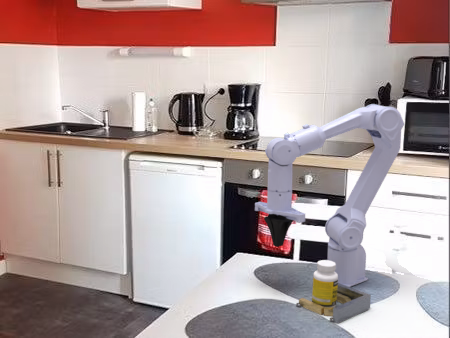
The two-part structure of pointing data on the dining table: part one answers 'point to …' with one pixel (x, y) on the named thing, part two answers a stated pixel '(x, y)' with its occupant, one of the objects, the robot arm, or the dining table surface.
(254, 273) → the dining table surface
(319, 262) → the supplement bottle
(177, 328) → the dining table surface
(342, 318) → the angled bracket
